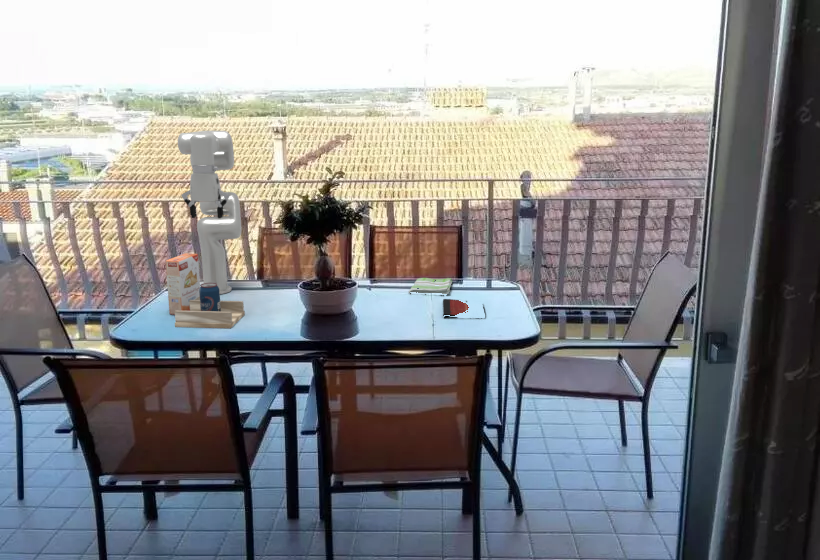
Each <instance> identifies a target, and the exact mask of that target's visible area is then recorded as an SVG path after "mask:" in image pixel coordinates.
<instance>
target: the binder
mask: <svg viewBox="0 0 820 560" xmlns="http://www.w3.org/2000/svg"><path fill="white" fill-rule="evenodd" d="M459 300H460V299H451V298H443V300H442V305H443V306H442V307H443V308H442V310H443V311H442V312H443V313H442V317H443V316H444V315H450V316H455V315H457V314H459V313H463V312H465V311H466V310H468V308H469V307H468V305H467V304H466V303H463V302H461V301H459ZM467 312H468V311H467ZM465 313H466V312H465Z"/></svg>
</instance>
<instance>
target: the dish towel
mask: <svg viewBox="0 0 820 560" xmlns="http://www.w3.org/2000/svg"><path fill="white" fill-rule="evenodd" d="M435 280H436V281H435ZM434 281H435V282H434ZM452 282H453V283H454V281H453V279H452V278H451V277H450V278H449V277H447V278H436V279H435V278H429V277H419V278H417V279H416V280H415V282H414V283H415V284H414V283H413V284H414V285H413V284H412V286H411V287H410V289H409V290H408V294H409V293H410V292H416V293H417V292H418V293H442V294H448V293H449V292H450V291H451V290H450V287H451V284H452ZM435 285H439V286H435ZM452 285H453V284H452ZM417 288H419V289H417ZM451 288H452V287H451ZM449 294H450V293H449Z"/></svg>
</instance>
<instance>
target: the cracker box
mask: <svg viewBox="0 0 820 560" xmlns="http://www.w3.org/2000/svg"><path fill="white" fill-rule="evenodd" d="M165 272H166V283H167V299H168V309H169V310H168V311H169V315H172V316H173V315H174V316H175V311H176V310H179V311H190V304H189V301H190V300H200V295H199V289H200V287H201V282H200V281H201V280H200V279H201V278H200V265H199V254H198V253H190V252H189V253H188V252H186V253H183V254H180V255H178V256H177V255H176V256H175V257H172V258H169V259H166V260H165Z"/></svg>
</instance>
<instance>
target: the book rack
mask: <svg viewBox="0 0 820 560" xmlns="http://www.w3.org/2000/svg"><path fill="white" fill-rule="evenodd" d="M189 304H190V311H179V310H176V311H175V315H174V319H175V322H174V327H175V328H194V329H197V328H200V329H201V328H202V329H203V328H204V329H205V328H206V329H211V328H212V329H231V328H233V327H234V326H235V325H236V324H237V323H238V322H239V321H240V320H241V319H242V318H243V317H244V316H245V314H246V312H245V310H244V309H245V308H244V300H220V306H221V311H201V308H200V300H190V301H189ZM234 324H235V325H234Z"/></svg>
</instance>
